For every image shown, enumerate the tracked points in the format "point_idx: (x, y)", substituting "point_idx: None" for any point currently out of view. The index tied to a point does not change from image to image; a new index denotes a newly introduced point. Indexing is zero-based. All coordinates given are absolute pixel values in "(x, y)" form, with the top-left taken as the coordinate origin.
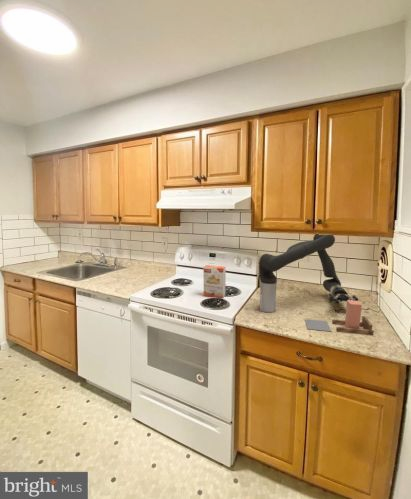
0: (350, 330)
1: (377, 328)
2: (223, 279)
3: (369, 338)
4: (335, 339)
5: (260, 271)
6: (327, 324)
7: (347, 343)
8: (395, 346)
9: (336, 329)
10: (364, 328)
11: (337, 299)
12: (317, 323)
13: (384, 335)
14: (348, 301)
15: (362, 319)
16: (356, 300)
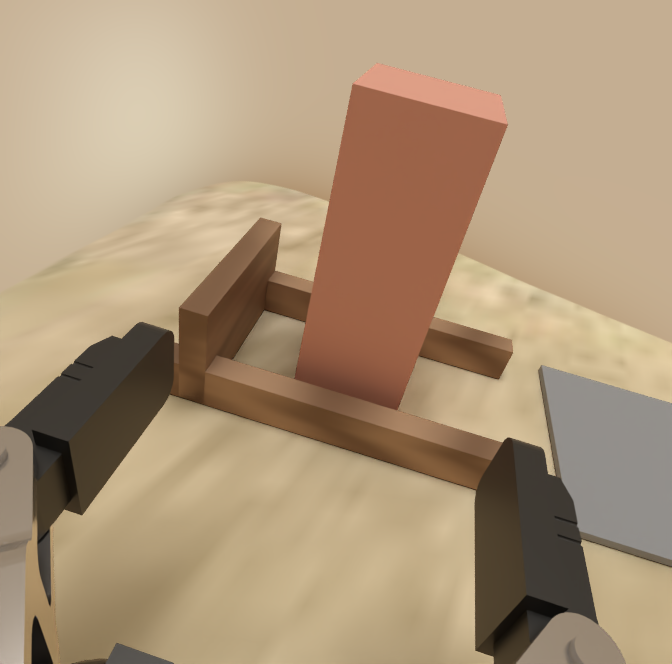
0: None
1: (90, 340)
2: None
3: (300, 275)
4: (526, 308)
5: None
6: (565, 455)
7: (466, 274)
8: (210, 212)
9: (503, 363)
10: (237, 345)
11: (526, 526)
12: (666, 488)
13: (153, 273)
14: (502, 111)
15: (210, 339)
16: None
